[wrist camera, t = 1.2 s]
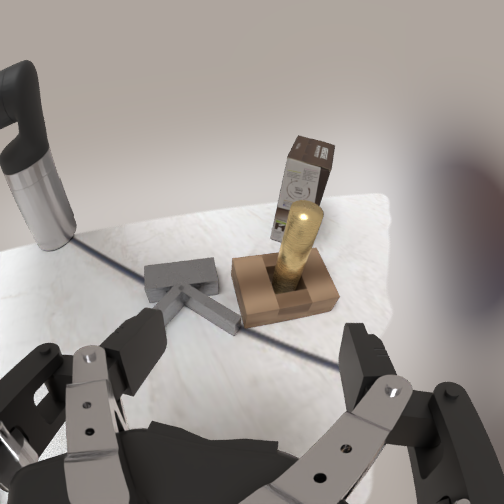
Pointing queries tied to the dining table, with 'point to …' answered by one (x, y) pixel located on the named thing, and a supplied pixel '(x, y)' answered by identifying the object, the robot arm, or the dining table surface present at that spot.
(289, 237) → the axle
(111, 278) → the dining table surface
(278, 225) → the coffee box
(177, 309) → the v block
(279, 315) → the hollow rectangular block
